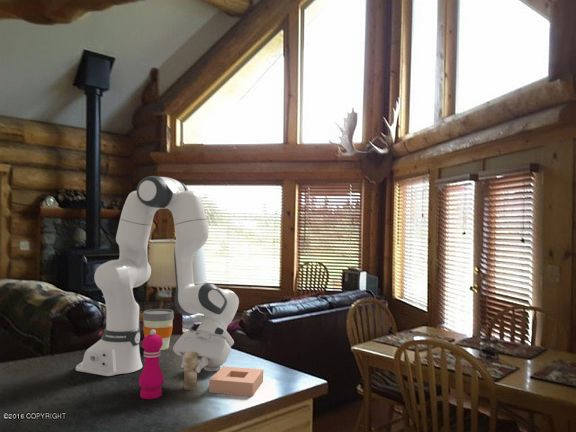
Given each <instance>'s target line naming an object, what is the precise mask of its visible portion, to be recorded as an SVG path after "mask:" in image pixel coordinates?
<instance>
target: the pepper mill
mask: <svg viewBox="0 0 576 432" xmlns="http://www.w3.org/2000/svg"><path fill="white" fill-rule="evenodd" d="M162 345H163V341H162V338H161V337H160V336H159V335H156V331H155V330H154V329H152V330H151V331H150V335H147V336H146V337H143V340H142V343H141V347H142V349H144V350H143V357H144V365H143V366H144V367H142V368H143V369H142V371H141V373H140V375H139V380H138V385H139V387H140V388H141V389H140V392H139V396H140V398H141V399H144V400H153V399H158V398H161V396H162V395H163V392H162V388H161V387H162V385H164V375H163V371H162V369H161V366H160V356H161V355H162V354H161V352H162V350H160V348H161V347H162Z"/></svg>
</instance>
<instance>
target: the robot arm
mask: <svg viewBox="0 0 576 432" xmlns="http://www.w3.org/2000/svg"><path fill="white" fill-rule="evenodd" d="M160 209H161V210H168V211H170V212H171V214H172V219H173V224H174V230H175V231H174V232H175V245H174V250H173V257H174V258H173V260H174V275H175V293H174V299H173V300H174V306H175V309H176V310H177V311H178V313H180V314H181V315H182V316H187V317H189V316H190V317H191V316H194V315H197V314H202V315H203V319H202V321H201V322H200V324H199V326H198V327H197V329H196V330H194V329H188V330H187V331H184V332H183V334H181V335H180V337H179V338H178V339H177V341H176V342H175V343H174V345H173V347H172V350H173V353H174V354H176V355H177V356H178V357H182V363H181V364H180V368H181V369H182V370H184V366H185V353H187V352H197V353H198V358H197V361H198V360H199V362H198V363H197V365H195V367H194V369H193V370H194V371H195V372H197V374H199V373H200V372H201V371H202V369H204V367H205V366H206V365H207V364H208V362H212V363H216V364H222V365H224V364H225V363H226V362H227V360H228V357H229V356H230V353H231V350H232V346H233V345H234V344H235V341H234V339H233V338H232V336H231V335H230V333H229V332H228V331H227V329H228V326H229V325H230V324H231V323H232V321H233V320H234V317H235V315H236V314H237V310H238V308H239V304H240V299H239V297H238V295H237V294H236V293H235V292H234V291H232V290H231V289H227V288H225V289H223V288H220V287H218V286H217V285H215V283H212V282H204V283H200V284H197V285H196V284H195V282H194V268H193V266H194V265H193V260H194V257H195V255H196V254H197V252H198V251H199V250H200V249H201V248H202V247H203V246H204V245H205V244H206V242H207V241H208V238H209V225H208V224H209V223H208V220H207V215H206V210H205V207H204V205H203V201H202V199H201V196H200V194H198V193H197V192H196V191H193V190H189V189H188V188H187V186H186V185H185V183H183V181H180V180H179V179H174V178H171V177H167V176H156V175H149V176H146V177H143V178H142V179H141V180H140V181H139V182H138V184H137V187H136V190H133V191H131V192H130V193H129V194H128V196H127V197H126V200H125V203H124V204H123V207H122V211H121V214H120V218H119V222H118V227H117V230H116V235H115V242H116V243H117V245H118V250H119V257H118V259H111V260H108V261H106V262H103V263H102V264H100V265H99V266H98V267H97V268H96V269H95V272H94V276H93V277H94V278H93V279H94V283H95V285H96V286H97V288H98V289H99V290H101V293H102V294H103V298H104V301H105V302H104V303H105V310H106V320H105V321H106V322H105V323H106V324H105V325H106V326H105V328H104V329H102V330H100V331H98V332H99V333H98V336H101V338H100V339H99V340H98V341H96V342H95V343H94V344H93V345H91V346H90V347H88V348H87V349H86V351H85V352H84V353H83V359H82V362H79V364H77V365H76V366H75V371H77V372H82V373H87V374H93V375H99V376H104V377H111V376H115V375H116V376H117V375H121V374H124V375H125V374H130V373H133V372H137V371H139V370H141V369H142V368H143V363H142V360H141V353H140V340H141V328H140V305H139V303H138V302H137V301H136V299H135V297H134V290H133V289H134V288H138V287H141V286H142V285H144V284H145V283H146V282H148V281H149V279H150V278H151V274H152V268H151V267H152V266H151V265H150V263H149V258H148V257H149V256H148V245H149V239H150V235H151V230H152V227H153V226H152V225H153V222H154V216H155V214H156V212H157V211H158V210H160ZM200 360H201V361H202V362H200Z"/></svg>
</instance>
